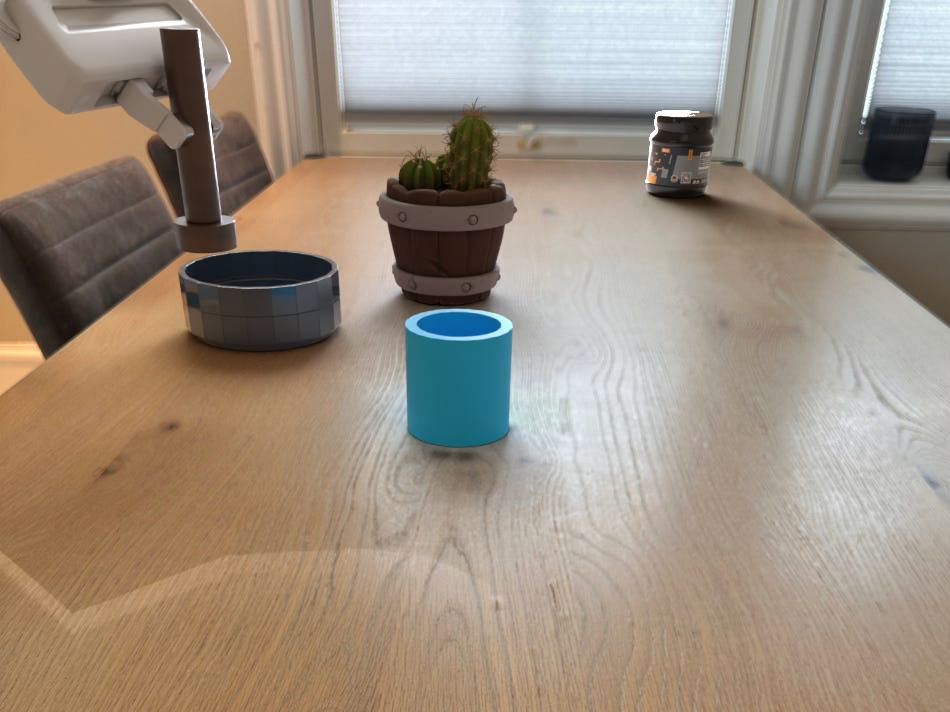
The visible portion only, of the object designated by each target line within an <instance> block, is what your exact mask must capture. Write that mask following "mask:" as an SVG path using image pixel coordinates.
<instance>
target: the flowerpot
mask: <svg viewBox="0 0 950 712" xmlns="http://www.w3.org/2000/svg"><path fill="white" fill-rule="evenodd" d="M478 99H479V95H478V96H477V98H476V99H475V100H474V103H471V105H472V108H471V107H470V106H469V105H468V104H467V103H466V104H465V103H463V108H462V110H460V109H458V111H460V113H458V115H459V116H460V117H459V120H458V119H456V117H455V116H454V115H452V116H453V117H452V118H453V119H452V121H449V120H446V122H448V123H450V124H449V125H448V126H447V127H446V129H445V131H446V133H443V134H442V133H441V136H443V135H444V138H443V139H442V140H439V141H440V142H442V144H444V145H443V147H444V148H443V150H444V151H445V152H440V155H437V156H434V159H435V162H433V161H432V160H431V156H432V153H430V154H428V155H427V156H426V155H425V154H424V153H427V149H426V148H425V147H426V145H424V146H423V144H421V146H420V147H419V148H418V147H417V146H415V145H413V147H415V148H416V150H417V151H415V154H413V153H412V151H409V150H407V152H408V153H410V154H407V155H405V156H404V158H403V159H402V162H401V164H399V165H398V167H400V168H399V171H398V172H399V173H398V177H397V176H391V177H388V178H387V180H386V188H385V190H383V191H381V192H380V194H379V196H378V200H376V203H375V205H376V206H377V207H378V214H379V216H380V218H381V219H382V220H383V221H384V222H386V224H387V229H388V235H389V238H390V244H391V247H392V251H393V255H394V260H395V261H394V263H392V265H391V270H392V271H391V273H392V275H393V278H394V281H395V283H396V285H397V286H398V287H399V288H401V293H402V294H403V295H404V296H406V297H407V298H408V299H410V300H412V301H415V302H417V301H418V302H419V303H422V304H427V305H429V304H430V305H436V304H439V303H440V305H443V306H450V305H452V306H455V305H464V304H470V303H475V302H477V301H483V300H486V299H487V298H488V297H489V296H490V295H491V292H492V289H494V288H495V287H496V286H497V283H498V281H500V280H501V277H502V276H501V274H500V272H501V267H500V265H499V263H497V261H498V258H499V254H500V250H501V246H502V242H503V239H504V233H505V228H506V225H507V224H509V223H511V222H512V221H513V219H514V216H515V214H516V213H517V212H518V208H517V207H516V204H515V199H514V197H513V196H512V194H510V193H508V192H507V189H506V184H505V181H503V180H502V179H499V178H496V177H493V173H495V174H497V172H496V171H498V169H494V168H495V167H497V162H499V159H501V158H502V157H498V153H500V151H499V148H498V149H497V148H496V147H499V146H500V145H501V143H500V142H499V139H502V138H503V136H501V137H499V135H500V132H498V133H496V132H494V131H495V130H499V128H498V125H495V123H493V122H492V121H490V120H487V119H488V118H491V115H488V113H489V112H490V111H491V109H490V110H488V111H487V112H486V113H483V109H484V108H486V107H487V106H486V105H485V106H480V107H479V108H477V109H476V104H477V101H478ZM465 107H467V108H465ZM467 109H468V110H467ZM455 119H456V120H455ZM486 120H487V121H486ZM490 123H491V124H490ZM450 127H451V128H450ZM449 128H450V129H451V130H449ZM446 135H447V136H446ZM444 140H445V141H446V142H445V141H444ZM496 144H497V146H496ZM423 148H424V150H425V152H423V150H422V149H423ZM437 153H439V150H438V151H437V150H436V151H435V154H437ZM421 154H422V155H421ZM421 156H422V157H421ZM407 157H408V158H407ZM496 157H497V158H496ZM407 159H409V160H407ZM405 160H407V162H405V163H404V161H405ZM496 161H497V162H496ZM494 164H495V165H494Z"/></svg>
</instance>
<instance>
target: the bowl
mask: <svg viewBox="0 0 950 712" xmlns="http://www.w3.org/2000/svg"><path fill="white" fill-rule="evenodd" d="M339 273H340V272H339V265H338V263H337V262H336V261H334V260H333V259H331V258H330V257H326V256H323V255H319V254H316V253H311V252H304V251H298V250H287V249H285V250H284V249H246V250H234V251H233V250H232V251H226V252H220V253H211V254H207V255H204V256H200V257H197V258H193V259H191V260H189V261H187V262H185V263H183V264H182V265H180V267H179V269H178V271H177V275H178V282H179V289H180V294H181V301H182V302H181V303H182V308H183V309H182V310H183V315H184V323H185V327H186V328H187V330H188V331H189V332H190V333H191V334H192V335H193V336H196V337H197V339H198V340H199V341H201V342H203V343H205V344H206V345H210V346H213V347H217V348H222V349H226V350H233V351H242V352H243V351H245V352H270V351H271V352H272V351H282V350H292V349H296V348H302V347H306V346H310V345H313V344H316V343H319V342H322V341H323V340H326V339H327V338H329V337H330V336H332V335H333V333H334V332H335V330H337V328H339V326H340V325H341V324H342V310H341V309H342V308H341V307H342V305H341V291H340V290H341V289H340V275H339Z"/></svg>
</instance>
